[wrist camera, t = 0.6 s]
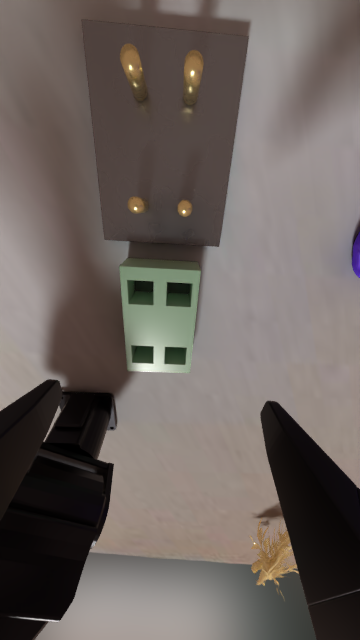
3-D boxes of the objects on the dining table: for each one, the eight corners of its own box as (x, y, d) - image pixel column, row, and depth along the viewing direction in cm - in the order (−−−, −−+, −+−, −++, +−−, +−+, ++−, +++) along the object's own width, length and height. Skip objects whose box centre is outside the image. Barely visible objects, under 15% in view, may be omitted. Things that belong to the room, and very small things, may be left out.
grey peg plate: (216, 244, 17) (226, 253, 14) (108, 238, 17) (90, 245, 14) (243, 48, 12) (270, -16, 9) (88, 33, 12) (51, -41, 8)
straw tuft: (296, 509, 47) (336, 562, 39) (244, 556, 45) (276, 622, 37) (284, 487, 43) (328, 542, 34) (226, 538, 40) (259, 610, 32)
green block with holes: (188, 354, 23) (189, 373, 20) (133, 351, 23) (127, 370, 20) (197, 261, 18) (200, 270, 15) (127, 257, 18) (119, 266, 15)
